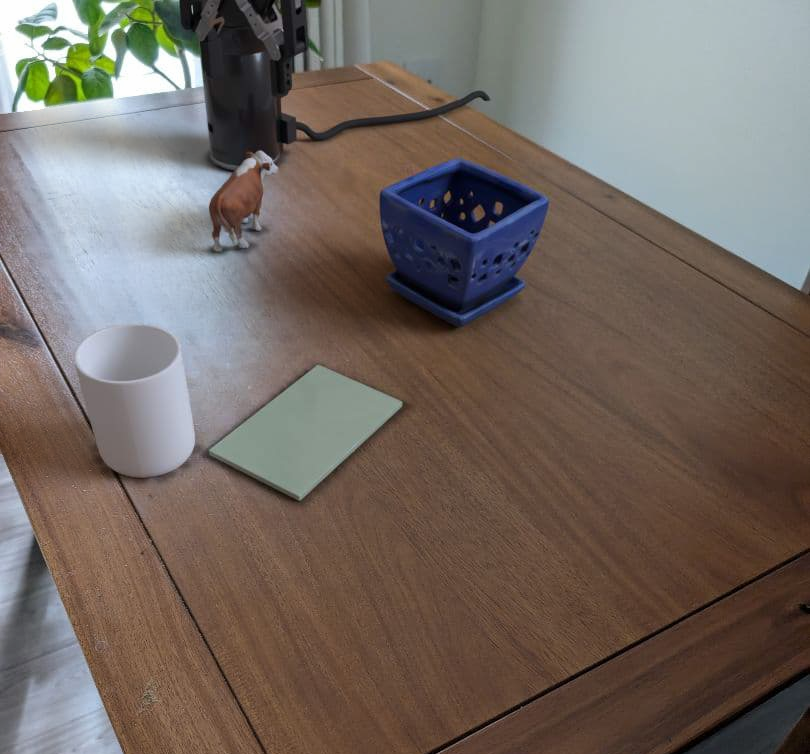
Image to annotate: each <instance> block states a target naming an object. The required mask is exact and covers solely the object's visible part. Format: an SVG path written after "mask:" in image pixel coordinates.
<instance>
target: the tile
mask: <svg viewBox="0 0 810 754" xmlns="http://www.w3.org/2000/svg"><path fill="white" fill-rule="evenodd" d="M402 407H403V401H402V400H400V399H398V398H395V397H393V396H390V395H388V394H386V393H384V392H381V391H380V390H377V389H375V388H372V387H371V386H368V385H366V384H364V383H361V382H360V381H357V380H354V379H352V378H350V377H347V376H345V375H343V374H341V373H338V372H337V371H335V370H331V369H330V368H327V367H325V366H323V365H321V364H317V365H315V366H314V367H313V368H311V369H310V370H309V371H308V372H306V373H305V374H304V375H303V376H301V377H300V378H298V379H297V380H296V381H295V382H294V383H292V384H291V385H290V386H289V387H287V388H286V389H285V390H284V391H281V393H279V394H278V395H277V396H276V397H274V398H273V399H272V400H271V401H269V402H268V403H267V404H266V405H264V406H263V407H262V408H260V409H259V410H258V411H256V413H254V414H253V415H251V416H250V417H249V418H248V419H246V420H245V421H244V422H242V423H241V424H240V425H238V426H237V427H236V428H235V429H233V430H232V431H231V432H230V433H228V434H227V435H226V436H225V437H223V438H222V439H221V440H220V441H218V442H217V443H215V444H214V445H213V446H212V447H211V448H209V449H208V455H209V456H210V457H212V458H214V459H216V460H218V461H219V462H222V463H224V464H226V465H228V466H230V467H232V468H234V469H236V470H237V471H240V472H242V474H243V473H244V474H245V475H247V476H249V477H251V478H253V479H255V480H257V481H259V482H261V483H263V484H265V485H267V486H269V487H271V488H273V489H274V490H277V491H279V492H280V493H282V494H285V495H286V496H289V497H290V498H292V499H294V500H296V501H298V502H301V501H302V500H303V499H304V498H305V497H306V496H307V495H308V494H309V493H310V492H312V491H313V489H315V488H316V487H317V486H318V485H319V484H320V483H321V482H322V481H323V480H325V479H326V477H328V476H329V475H330V474H331V473H332V472H333V471H334V470H336V468H337V467H338V466H340V464H342V463H343V462H344V461H345V460H346V459H347V458H348V457H349V456H350V455H351V454H353V453H354V452H355V451H356V450H357V449H358V448H359V447H360V446H361V445H362V444H363V443H364V442H366V441H367V440H368V439H369V438H370V437H371V436H372V435H373V434H374V433H375V432H376V431H378V429H380V428H381V427H382V426H383V425H384V424H385V423H386V422H387V421H389V419H391V417H393V416H394V415H395V414H396V413H397V412H398V411H400V410H401V408H402Z"/></svg>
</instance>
